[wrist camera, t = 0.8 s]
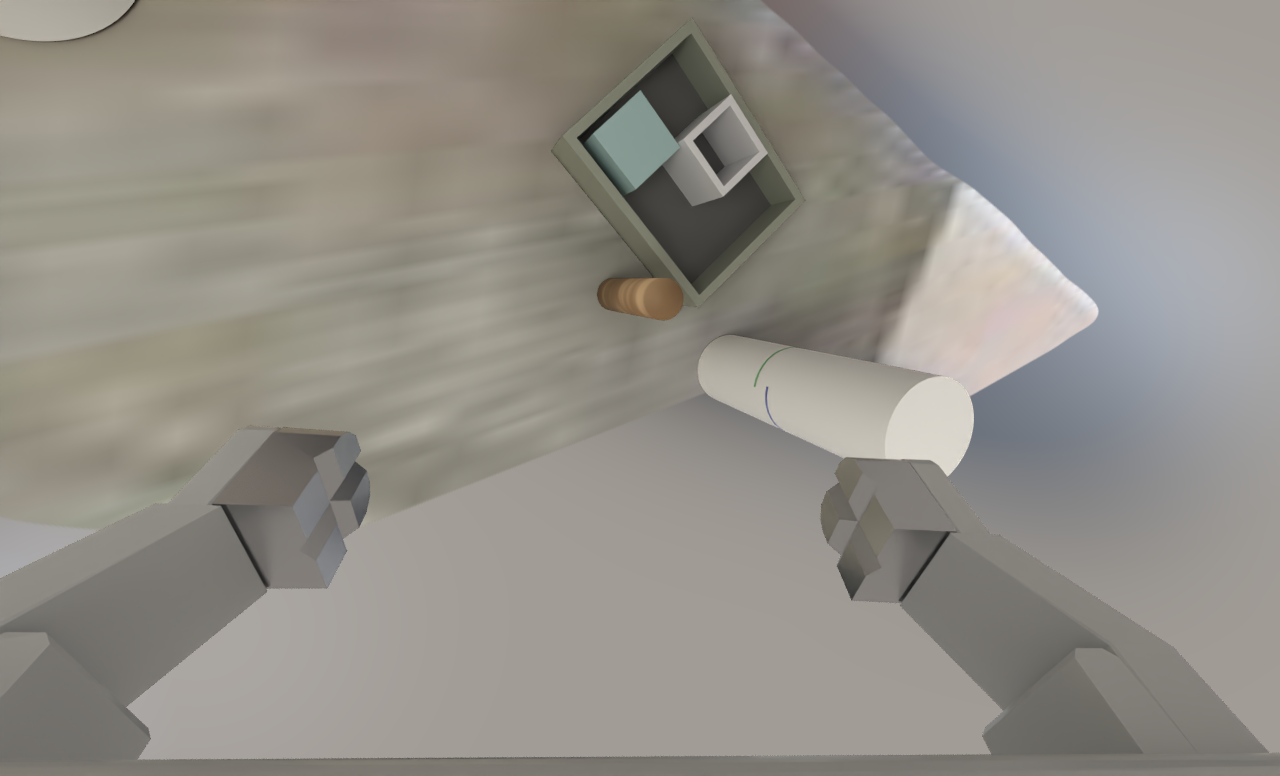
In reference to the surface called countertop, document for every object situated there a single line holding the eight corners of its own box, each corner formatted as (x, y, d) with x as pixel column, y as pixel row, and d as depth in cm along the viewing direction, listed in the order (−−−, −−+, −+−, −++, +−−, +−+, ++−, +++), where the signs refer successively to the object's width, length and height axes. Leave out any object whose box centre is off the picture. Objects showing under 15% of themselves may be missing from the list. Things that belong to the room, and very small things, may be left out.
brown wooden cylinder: (590, 293, 47) (636, 297, 35) (613, 271, 48) (666, 268, 36) (611, 317, 48) (662, 328, 36) (633, 295, 49) (691, 300, 37)
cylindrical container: (698, 404, 54) (880, 498, 30) (697, 337, 52) (888, 383, 29) (756, 396, 56) (967, 478, 33) (757, 332, 54) (979, 370, 31)
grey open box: (551, 150, 44) (567, 128, 37) (668, 44, 45) (703, 4, 39) (676, 305, 50) (708, 308, 44) (774, 207, 52) (819, 197, 46)
